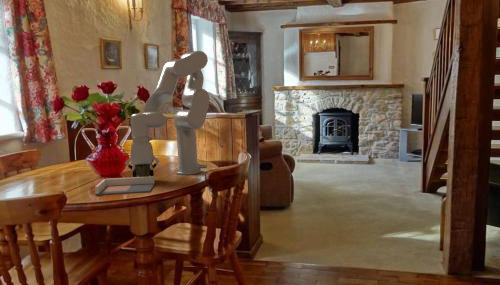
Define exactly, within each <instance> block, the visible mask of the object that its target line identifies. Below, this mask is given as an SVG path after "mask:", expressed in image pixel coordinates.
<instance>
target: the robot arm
mask: <svg viewBox="0 0 500 285" xmlns="http://www.w3.org/2000/svg"><path fill="white" fill-rule="evenodd" d="M207 64H208V56H207V54H206V53H205V52H204V51H202V50H194V51H188V52H185V53H183V54H182V55H181V56H180V58H179V59H172V60H169V61H168V60H167V61H166V62H165V63H164V65H163V67H162V69H161V73H160V75H159V78H158V82H157V84H156V87H155V89H154V91H153V92H152V94H150V95H149V98H148V99H147V100H146V102H145V104H144V107H143V109H142V112H141V113H140V112H138V113H132V114H131V116H130V120H131V121H130V122H131V123H130V124H131V136H132V137H131V138H132V143H131V145H130V157H129V158H128V159H127V160H126V161H125V162H124V164H125V165H126V166H127V168H128V169H130V170H131V171H132V177H138V176H137V174H136V170H135V166H136V165H150V176H154V177H155V173H154V169H155V168H156V167H157V166H158V164H159V163H160V161H161V160H160V159H159V158H158V157H156V156H154V148H153V144H152V142H150V141H153V137H152V136H150V134H149V133H150V130H149V129H160V128H163V127H164V126H165V125H166V122H167V118H166V116H165V114H164V113H162V112H158V111H159V110H160V109H161V107H162V105H163V104H164V103H165V102H166V101H168V100H170V99H171V98H172V97H173V96H174V93H175V90H176V87H177V86H178V82H179V79H181V78H186V80H185V84H184V87H183V93H182V96H181V103H182V105H183V106H184V107H186V108H188V109H180V110H178V111H177V112H176V113H175V115H174V118H173V124H174V128H175V133H176V143H177V144H176V145H177V161H178V165H177V166H178V169H176V170H175V174H177V175H181V176H185V175H187V176H188V175H197V174H199V173H201V172H202V169H207V168H208V167H207V166H208V165H207V163H206V164H205V163H203V164H200V163H199V161H198V149H197V135H196V131H195V130H200V129H202V128H203V126H204V124H205V122H206V119H207V114H208V112H209V106H210V101H211V100H210V99H211V98H210V93H209V92H208V91H207V90H206V89H205V88H203V86H204V82H205V79H204V73H203V71H202V69H204V68H205V67H206V66H207ZM154 162H155V163H154Z"/></svg>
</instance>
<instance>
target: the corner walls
mask: <svg viewBox="0 0 500 285" xmlns="http://www.w3.org/2000/svg"><path fill="white" fill-rule="evenodd" d="M152 183H155V175H154V176H149V177H138V176H137V177H133V176H132V177H116V178H115V177H114V178H103V179H102V180H101V181H99V183H97V184H96V185H95V186H94V191H95V195H96V194H99V193H100V192H101V191H102V190H103V189H104V188H105V187H106V186H117V185H134V184H152ZM155 184H156V183H155Z"/></svg>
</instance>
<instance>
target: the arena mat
mask: <svg viewBox="0 0 500 285" xmlns="http://www.w3.org/2000/svg"><path fill="white" fill-rule="evenodd" d="M155 184H156V183H152V184H134V185H117V186H106V187H105V188H104V189H103V190H102V191H101V192H100V193H99V194H96V193H95V196H105V195H121V194H122V195H123V194H125V195H126V194H142V193H151V191H152V190H153V188H154V186H155Z"/></svg>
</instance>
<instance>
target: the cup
mask: <svg viewBox="0 0 500 285" xmlns="http://www.w3.org/2000/svg"><path fill="white" fill-rule="evenodd" d="M135 170H136V174H137V177H149V176H150V165H136V166H135Z"/></svg>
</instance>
